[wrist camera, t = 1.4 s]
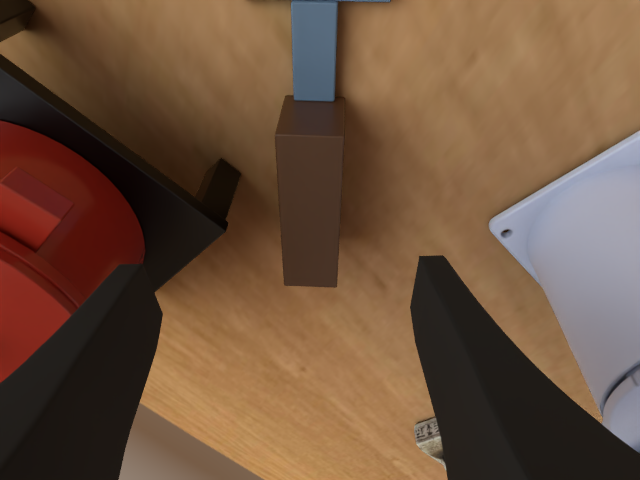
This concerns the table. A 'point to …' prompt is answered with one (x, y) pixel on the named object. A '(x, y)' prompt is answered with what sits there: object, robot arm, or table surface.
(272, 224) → the table surface
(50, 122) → the pot
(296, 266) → the spatula
